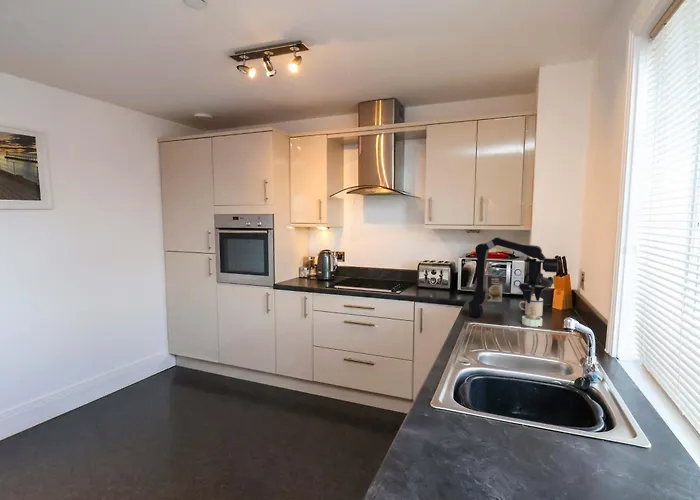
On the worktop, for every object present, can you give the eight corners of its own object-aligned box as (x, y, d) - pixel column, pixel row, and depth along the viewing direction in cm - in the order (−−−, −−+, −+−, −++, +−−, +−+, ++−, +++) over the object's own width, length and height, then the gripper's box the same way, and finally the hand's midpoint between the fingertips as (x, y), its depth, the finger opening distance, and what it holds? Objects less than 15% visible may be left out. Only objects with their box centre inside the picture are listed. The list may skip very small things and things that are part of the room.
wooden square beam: (528, 322, 188) (528, 306, 188) (530, 321, 190) (531, 306, 189) (533, 323, 186) (533, 307, 186) (535, 322, 188) (536, 307, 187)
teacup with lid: (541, 313, 209) (542, 292, 207) (544, 317, 200) (545, 296, 199) (517, 311, 212) (518, 291, 211) (519, 315, 204) (520, 294, 203)
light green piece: (518, 323, 189) (519, 317, 189) (527, 320, 195) (527, 314, 194) (536, 327, 182) (537, 321, 182) (545, 324, 188) (545, 318, 187)
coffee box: (487, 301, 237) (487, 276, 236) (485, 299, 243) (485, 274, 242) (502, 302, 236) (503, 276, 234) (499, 299, 242) (500, 275, 240)
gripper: (542, 275, 174) (541, 307, 175) (559, 271, 185) (558, 302, 187) (519, 272, 182) (517, 303, 184) (536, 268, 194) (535, 298, 195)
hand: (533, 301), depth 187 cm, fingers open, 9 cm apart
